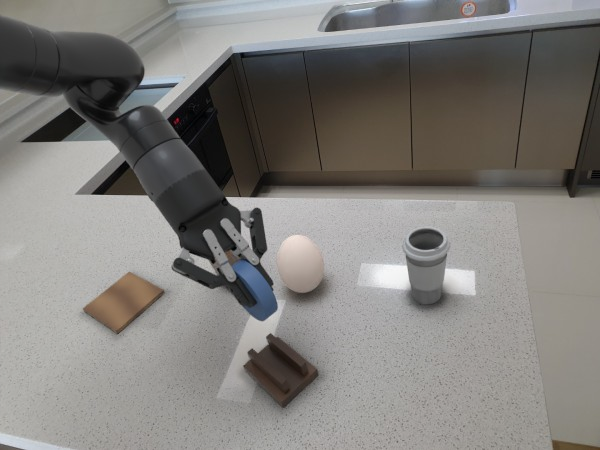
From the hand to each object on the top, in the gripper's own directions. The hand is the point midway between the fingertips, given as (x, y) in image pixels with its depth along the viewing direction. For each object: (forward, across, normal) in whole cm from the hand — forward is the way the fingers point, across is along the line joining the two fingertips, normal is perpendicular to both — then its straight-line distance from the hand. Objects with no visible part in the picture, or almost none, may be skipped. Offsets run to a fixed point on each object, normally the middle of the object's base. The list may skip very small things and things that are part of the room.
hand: (261, 298), depth 56 cm
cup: (+17, +26, +8) cm, 32 cm away
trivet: (-13, -10, +38) cm, 42 cm away
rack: (+11, 0, +14) cm, 18 cm away
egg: (+5, +15, +21) cm, 26 cm away
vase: (-4, +8, +29) cm, 31 cm away
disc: (-2, 0, +1) cm, 2 cm away
